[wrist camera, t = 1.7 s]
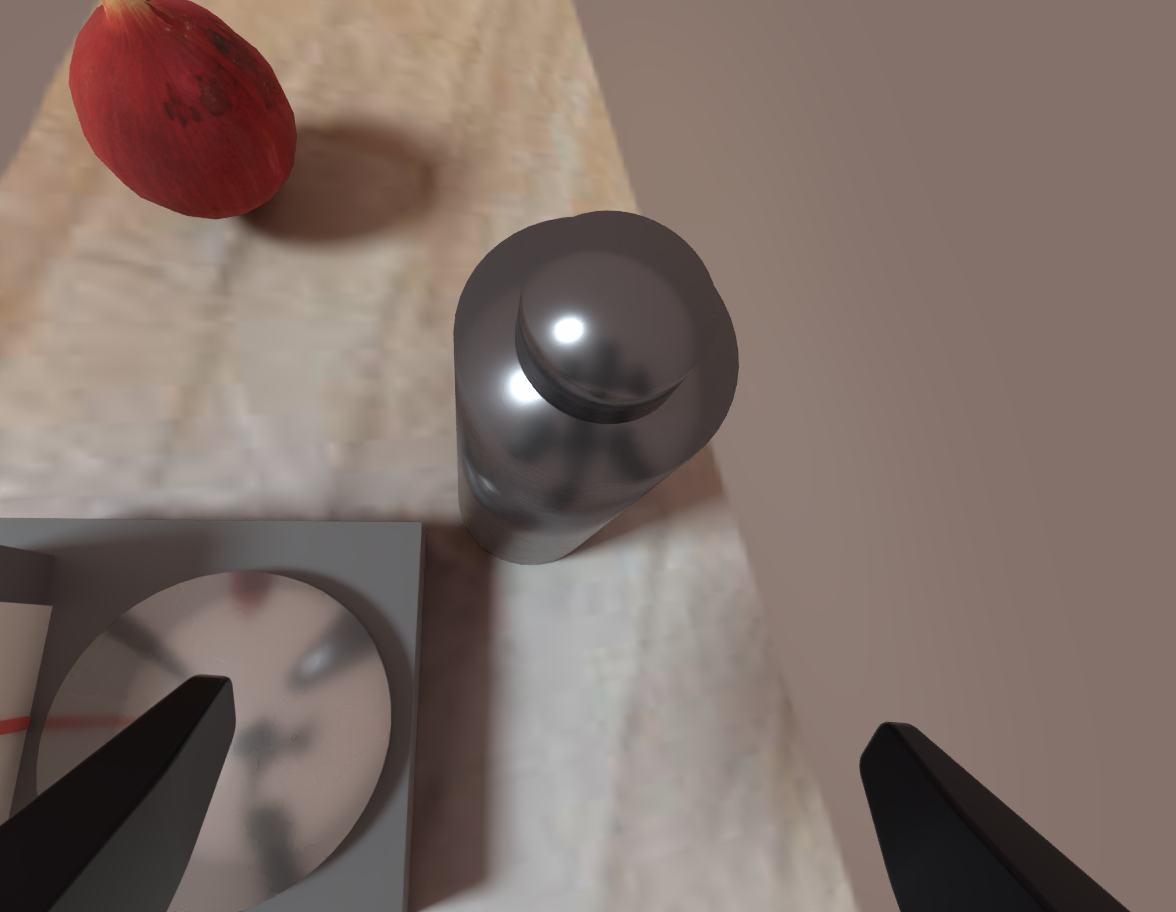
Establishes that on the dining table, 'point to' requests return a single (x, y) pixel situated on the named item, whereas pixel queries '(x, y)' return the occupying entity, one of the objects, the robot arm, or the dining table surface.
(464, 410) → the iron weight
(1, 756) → the scale
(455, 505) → the dining table surface
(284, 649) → the scale pan
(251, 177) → the onion
